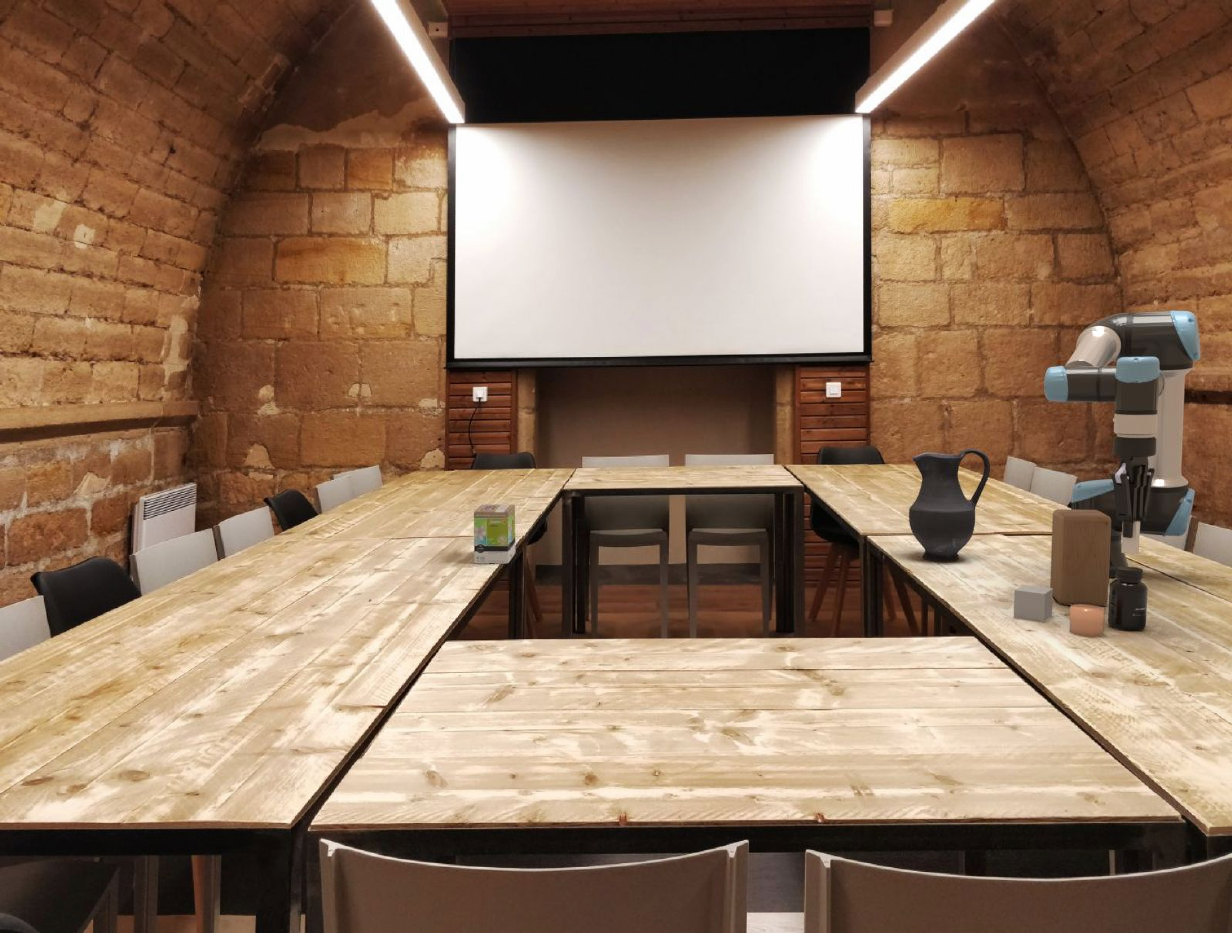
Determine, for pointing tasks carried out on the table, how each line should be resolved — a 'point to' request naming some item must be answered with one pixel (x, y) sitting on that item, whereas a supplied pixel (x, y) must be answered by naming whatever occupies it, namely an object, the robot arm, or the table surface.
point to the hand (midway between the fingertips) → (1130, 553)
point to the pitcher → (944, 505)
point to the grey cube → (1033, 603)
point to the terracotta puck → (1086, 620)
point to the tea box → (494, 534)
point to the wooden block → (1080, 557)
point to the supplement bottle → (1128, 600)
